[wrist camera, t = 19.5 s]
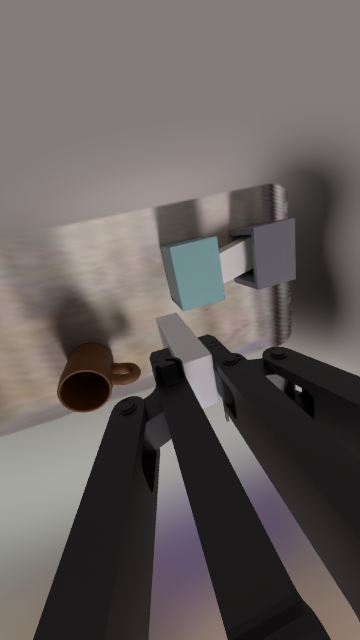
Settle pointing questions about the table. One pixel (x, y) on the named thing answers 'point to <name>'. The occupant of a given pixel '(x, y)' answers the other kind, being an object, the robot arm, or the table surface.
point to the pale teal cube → (194, 272)
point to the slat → (236, 258)
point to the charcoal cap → (270, 253)
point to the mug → (92, 378)
